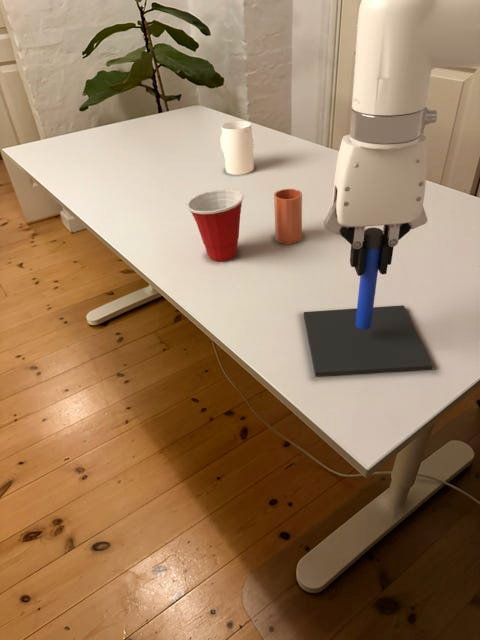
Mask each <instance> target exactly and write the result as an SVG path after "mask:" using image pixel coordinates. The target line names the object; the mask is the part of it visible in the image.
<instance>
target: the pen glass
mask: <svg viewBox="0 0 480 640" xmlns="http://www.w3.org/2000/svg"><path fill="white" fill-rule="evenodd" d="M273 200H274V201H273V202H274V203H273V204H274V206H273V207H274V229H275V230H274V231H275V240H276V242H278V243H281V244H285V245H290V244H295V243H299V242H300V241H301V240H302V238H303V193H302V191H300V190H299V189H296V188H283V189H280V190H277V191H275V192H274V193H273Z"/></svg>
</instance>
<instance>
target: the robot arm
mask: <svg viewBox="0 0 480 640" xmlns="http://www.w3.org/2000/svg"><path fill="white" fill-rule="evenodd" d="M356 26H357V28H356V42H355V55H354V72H353V85H352V101H351V102H352V103H351V114H350V128H349V129H350V130H349V134H346V135H344V136H342V138H341V142H340V145H339V150H338V154H337V158H336V159H337V160H336V164H335V172H334V181H333V189H332V196H331V197H332V200H331V208H330V209H329V211H328V214H327V216H326V217H325V218H324V221H323V227H324V229H325V231H327V232H329V233H331V234H335V235H339V236H341V237H342V238H343V239H344V240H345V241H346V242H348V243H349V244H350V257H349V264H350V267H351V268H354V270H355V272H356V275H357V276H358V277H360V276H362V275H363V274H364V267H365V257H366V248H365V246H364V242H363V240H364V231H365V230H366V227H377V226H383V227H382V231H383V238H382V246H381V251H380V259H379V267H378V273H380V274H381V275H387V271H388V267H389V266H390V265H392V260H393V253H394V247H396V246H397V245H398V244H399V240H401V239H402V238H403V237H405V236H406V234H409V232H410V231H411V230H414V229H417V228H419V227H421V226H423V225H426V224H427V222H428V216H427V214H426V211H425V208H424V202H425V193H426V183H427V168H428V167H427V166H428V165H427V162H428V160H427V158H428V156H427V155H428V154H427V151H428V150H427V137H426V135H425V134H424V130H425V127H426V126H429V125H430V124H436V122H437V119H438V112H437V109H429V108H428V107H427V106H426V105H427V99H428V93H429V88H430V87H429V86H430V80H431V74H432V71H433V70H434V69H435V68H463V69H464V68H469V69H471V68H478V67H480V0H361V1H360V4H359V8H358V15H357V25H356Z"/></svg>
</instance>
